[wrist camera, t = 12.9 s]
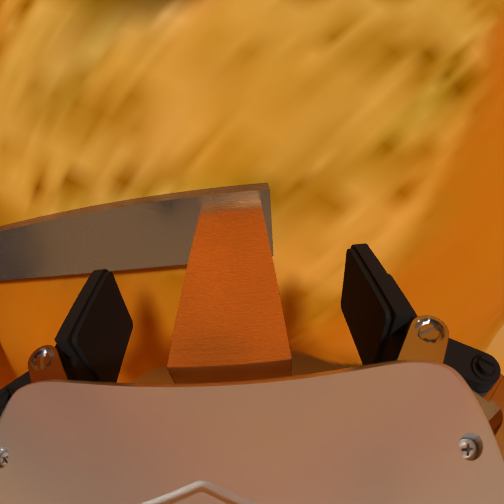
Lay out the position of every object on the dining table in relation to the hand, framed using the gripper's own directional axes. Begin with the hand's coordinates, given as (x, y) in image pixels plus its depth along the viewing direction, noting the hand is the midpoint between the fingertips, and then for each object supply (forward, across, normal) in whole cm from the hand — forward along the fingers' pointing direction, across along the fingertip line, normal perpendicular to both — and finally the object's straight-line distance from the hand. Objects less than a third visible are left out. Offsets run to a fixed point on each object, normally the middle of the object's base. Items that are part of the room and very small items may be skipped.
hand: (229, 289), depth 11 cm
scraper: (+6, +10, 0) cm, 12 cm away
